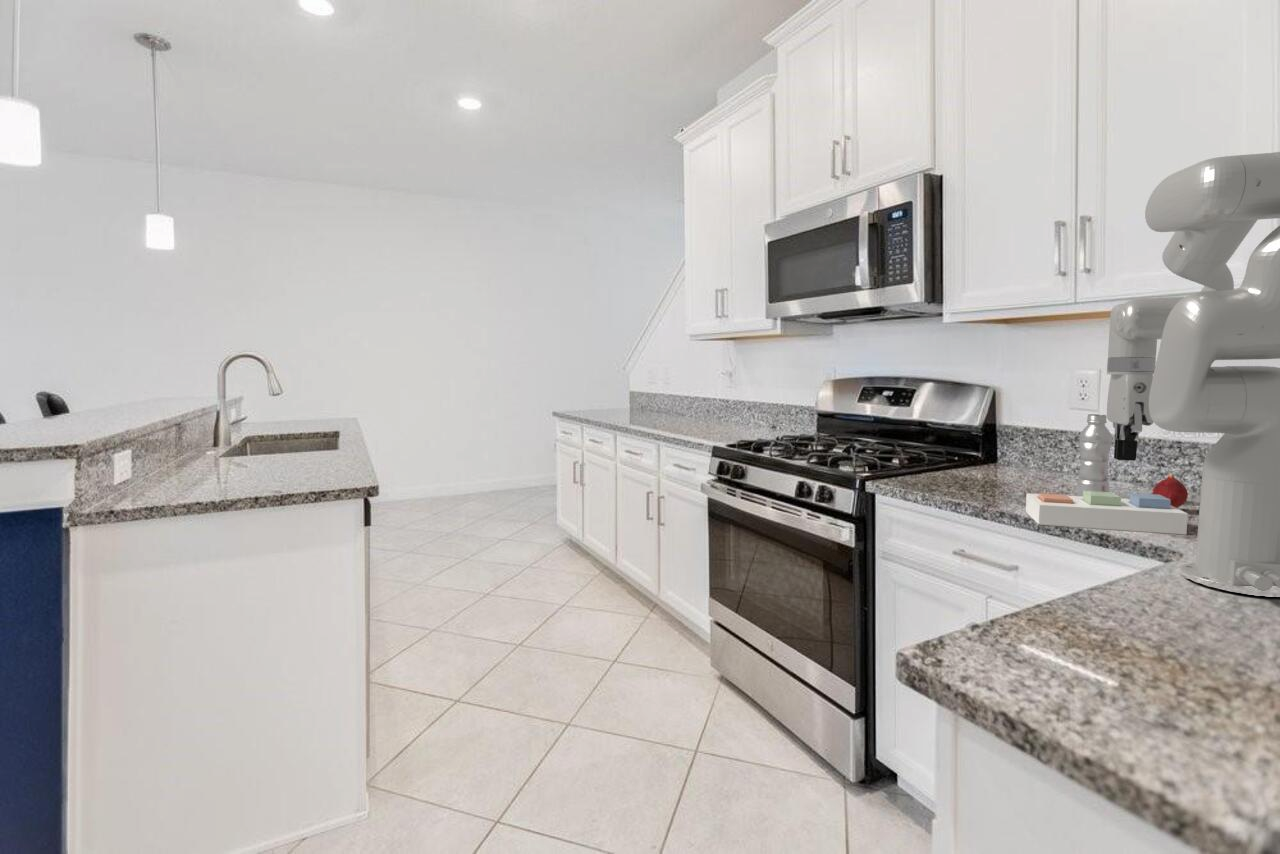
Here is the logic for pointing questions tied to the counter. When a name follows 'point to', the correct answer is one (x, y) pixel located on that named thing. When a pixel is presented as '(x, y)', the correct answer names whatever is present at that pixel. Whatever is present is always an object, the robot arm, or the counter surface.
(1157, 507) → the slate key
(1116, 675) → the counter surface
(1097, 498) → the sage key
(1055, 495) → the terracotta key
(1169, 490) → the onion
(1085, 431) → the plastic bottle
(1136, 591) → the counter surface
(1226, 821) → the counter surface
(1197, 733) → the counter surface
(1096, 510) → the button panel
